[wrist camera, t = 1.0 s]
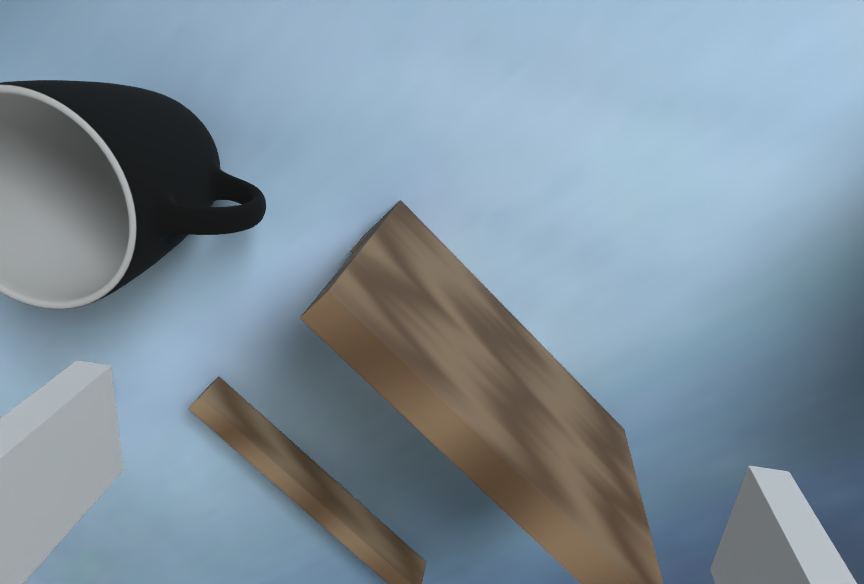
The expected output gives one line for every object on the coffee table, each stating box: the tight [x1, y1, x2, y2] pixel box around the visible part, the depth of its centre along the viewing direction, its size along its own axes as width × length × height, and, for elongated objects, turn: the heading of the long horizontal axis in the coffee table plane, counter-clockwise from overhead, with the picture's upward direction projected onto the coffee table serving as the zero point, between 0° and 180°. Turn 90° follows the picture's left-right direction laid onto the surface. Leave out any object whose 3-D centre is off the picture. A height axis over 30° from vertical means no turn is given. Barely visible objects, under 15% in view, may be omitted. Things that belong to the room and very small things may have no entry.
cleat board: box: [188, 200, 663, 584], centre depth 31 cm, size 18×17×13 cm
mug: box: [0, 80, 266, 309], centre depth 29 cm, size 12×9×10 cm
